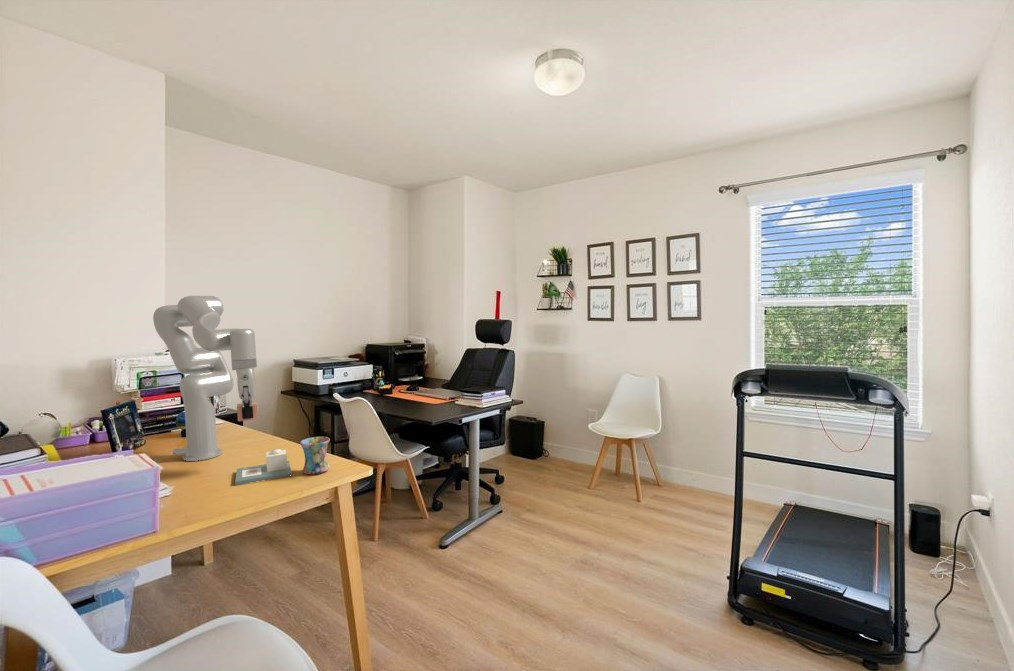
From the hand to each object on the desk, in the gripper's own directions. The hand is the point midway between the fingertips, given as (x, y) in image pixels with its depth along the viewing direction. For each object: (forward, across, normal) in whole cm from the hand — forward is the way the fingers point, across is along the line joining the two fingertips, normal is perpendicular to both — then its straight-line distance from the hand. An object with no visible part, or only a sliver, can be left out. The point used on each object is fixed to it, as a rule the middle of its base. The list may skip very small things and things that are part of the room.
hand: (248, 416), depth 163 cm
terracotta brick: (+1, 0, 0) cm, 1 cm away
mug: (+19, -17, -20) cm, 32 cm away
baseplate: (+18, -9, -4) cm, 21 cm away
